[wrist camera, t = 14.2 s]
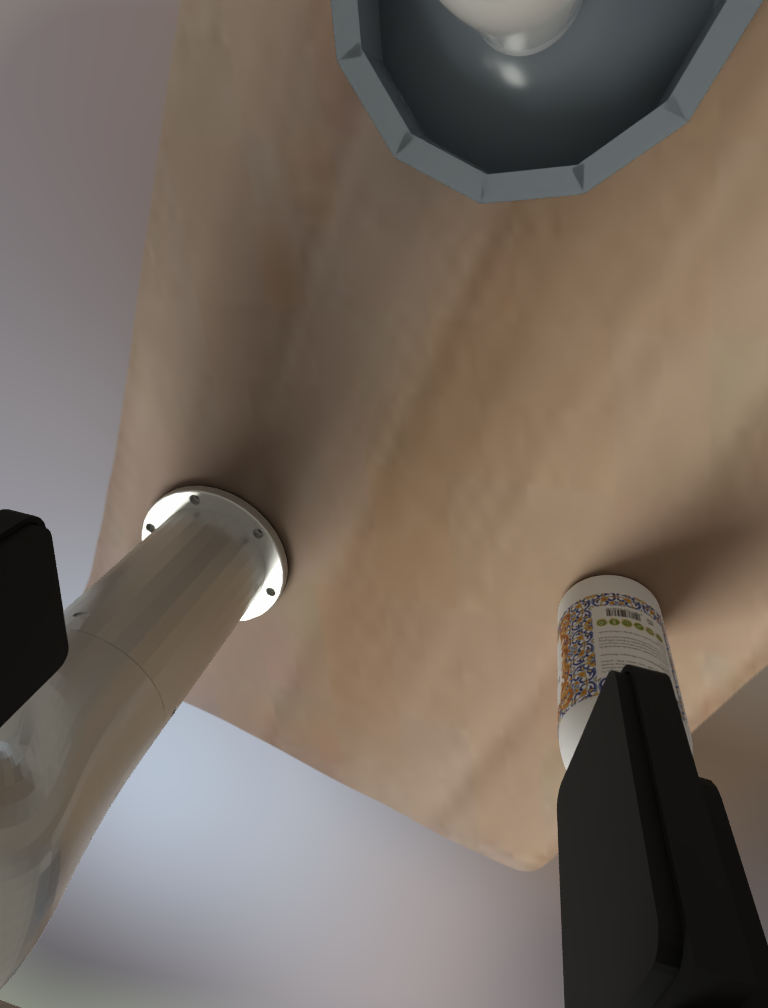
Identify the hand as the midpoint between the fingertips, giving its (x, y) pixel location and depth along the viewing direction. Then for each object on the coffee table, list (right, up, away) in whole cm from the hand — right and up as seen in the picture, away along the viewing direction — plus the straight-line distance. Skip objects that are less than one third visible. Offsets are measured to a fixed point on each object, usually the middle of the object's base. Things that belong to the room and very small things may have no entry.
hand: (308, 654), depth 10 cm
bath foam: (+17, -5, +34) cm, 38 cm away
